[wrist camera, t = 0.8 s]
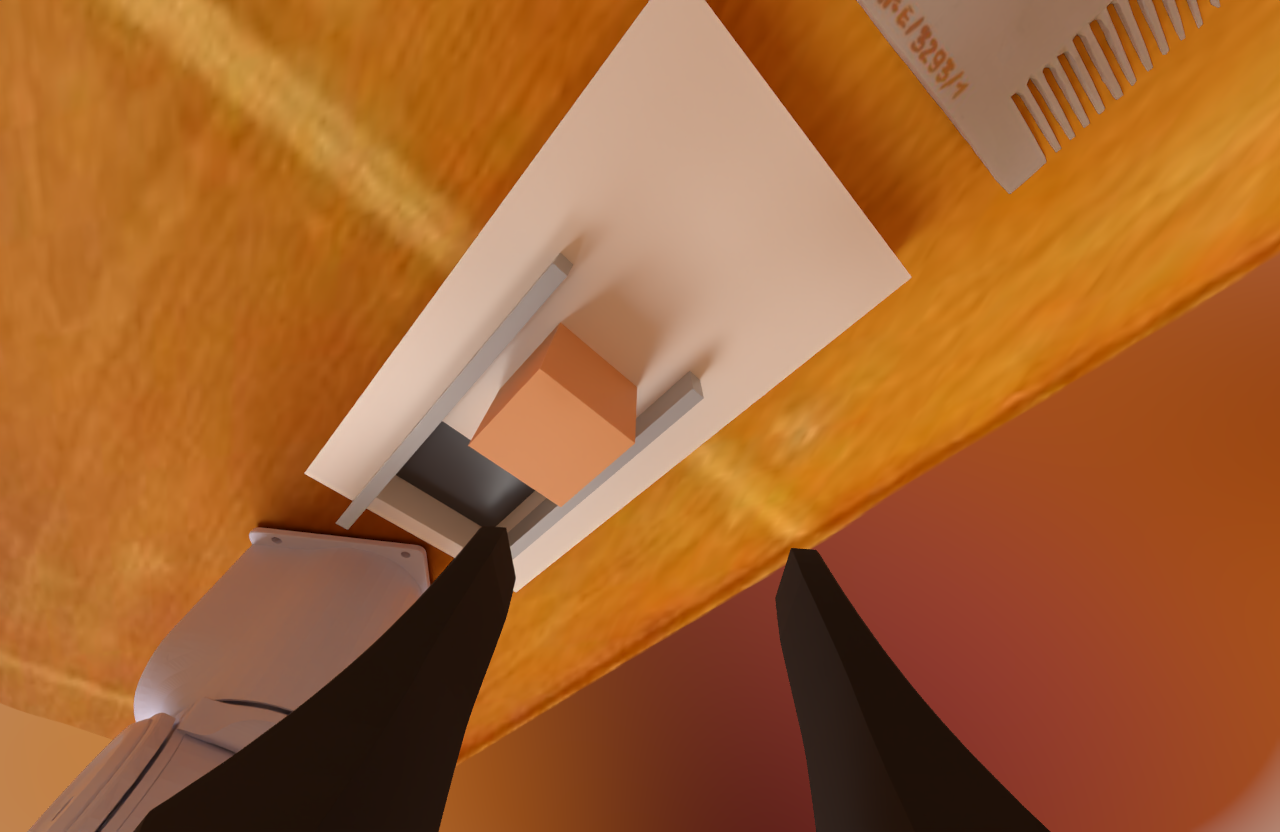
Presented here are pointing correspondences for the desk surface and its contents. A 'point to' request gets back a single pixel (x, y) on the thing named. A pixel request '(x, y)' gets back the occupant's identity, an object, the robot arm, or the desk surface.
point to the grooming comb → (1012, 64)
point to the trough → (620, 291)
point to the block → (559, 418)
